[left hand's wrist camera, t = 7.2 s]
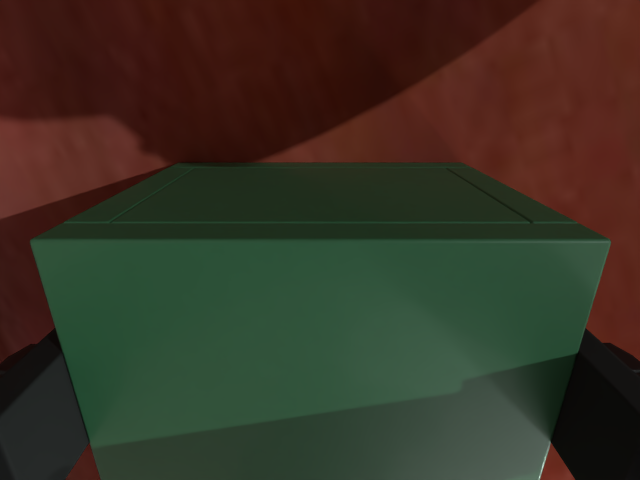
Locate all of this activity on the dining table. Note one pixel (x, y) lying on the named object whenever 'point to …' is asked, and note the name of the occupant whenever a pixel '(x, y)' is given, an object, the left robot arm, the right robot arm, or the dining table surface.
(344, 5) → the dining table surface
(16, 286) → the dining table surface
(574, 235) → the green rectangular box
